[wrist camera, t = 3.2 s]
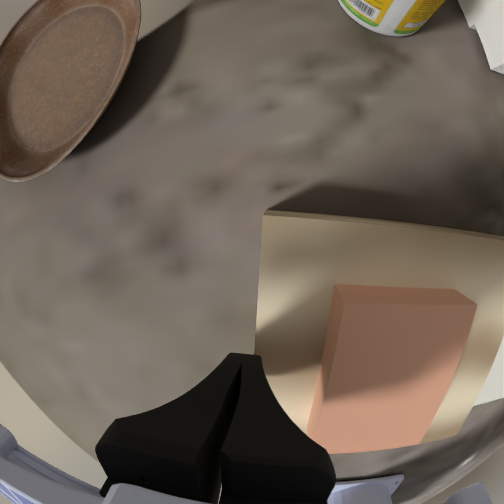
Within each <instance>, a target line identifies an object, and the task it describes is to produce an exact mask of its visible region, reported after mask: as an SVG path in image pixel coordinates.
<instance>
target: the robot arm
mask: <svg viewBox="0 0 504 504" xmlns="http://www.w3.org/2000/svg"><path fill="white" fill-rule="evenodd" d="M95 452H96V455H97V458H98V460H99V462H100V464H101V465H102V467H103V469H104V471H105V473H106V475H107V477H108V478H107V480H106V481H105V483H104V485H103V487H102V488H101V489H99V488H97V487H94V486H92V485H90V484H88V483H86V482H83V481H81V480H79V479H77V478H75V477H73V476H71V475H69V474H67V473H65V472H63V471H61V470H59V469H57V468H55V467H54V466H52V465H50V464H48V463H47V462H45V461H43V460H41V459H40V458H38V457H37V456H35V455H33V454H32V453H30V452H28V451H27V450H25V449H24V448H22V447H21V446H19V445H18V443H17V441H16V439H15V438H14V436H13V435H12V434H11V432H10V431H9V430H7V428H5V427H4V426H2V425H1V424H0V493H1V494H2V495H3V496H5V497H6V498H7V499H8V500H9V501H11V502H12V503H13V504H218V500H219V494H220V488H221V483H222V492H221V496H220V501H219V504H392V500H391V495H392V494H393V493H394V491H395V490H396V489H397V487H398V486H399V485H400V483H401V482H402V481H403V479H404V475H403V474H399V475H394V476H388V477H381V478H374V479H366V480H356V481H345V482H336V474H335V470H334V467H333V464H332V461H331V459H330V456H329V454H328V452H327V450H326V449H325V448H323V447H322V446H321V445H319V444H318V443H316V442H315V441H313V440H312V439H311V438H310V437H308V436H307V435H306V434H305V433H304V432H303V431H302V430H301V429H300V428H299V427H298V426H297V425H296V424H295V423H294V422H293V421H292V420H291V419H290V417H289V416H288V415H287V413H286V412H285V411H284V409H283V408H282V407H281V405H280V404H279V402H278V400H277V399H276V397H275V395H274V393H273V391H272V389H271V387H270V385H269V383H268V380H267V378H266V375H265V372H264V369H263V365H262V357H261V356H260V355H250V354H240V353H229V354H228V355H227V356H226V358H225V359H224V360H223V361H222V362H221V363H220V364H219V365H218V366H217V367H216V369H214V370H213V371H212V372H211V373H210V374H209V375H208V376H207V377H206V378H205V379H204V380H202V381H201V382H200V383H199V384H198V385H196V386H195V387H194V388H192V389H191V390H190V391H188V392H187V393H185V394H183V395H182V396H180V397H179V398H177V399H175V400H173V401H171V402H169V403H167V404H165V405H163V406H160V407H158V408H155V409H153V410H150V411H147V412H144V413H140V414H137V415H132V416H128V417H124V418H118V419H115V420H114V422H113V423H112V424H111V425H110V426H109V427H108V429H107V430H106V431H105V433H104V434H103V436H102V437H101V439H100V440H99V442H98V443H97V445H96V448H95ZM443 504H493V502H492V500H491V498H490V496H489V494H488V492H487V490H486V488H485V486H484V484H483V482H482V481H480V482H477V483H475V484H473V485H470V486H468V487H465V488H462V489H460V490H458V491H456V492H455V493H453V494H452V495H451V496H450V497H449V498H448V499H447V501H446V502H445V503H443Z"/></svg>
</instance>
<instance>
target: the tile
mask: <svg viewBox="0 0 504 504" xmlns="http://www.w3.org/2000/svg"><path fill="white" fill-rule="evenodd" d="M477 305H478V304H476V303H475V302H473V301H472V300H470V299H469V298H467V297H466V296H464V295H463V294H461V293H460V292H458V291H457V290H455V289H436V288H408V287H385V286H364V285H345V284H334V289H333V296H332V303H331V309H330V316H329V322H328V328H327V334H326V339H325V345H324V350H323V356H322V361H321V366H320V371H319V376H318V381H317V385H316V390H315V394H314V399H313V403H312V407H311V412H310V416H309V420H308V424H307V436H308V437H310V438H311V439H312V440H313V441H315V442H316V443H318V444H319V445H321V446H322V447H323V448H325V449H326V450H327V452H328V454H334V453H352V452H365V451H375V450H384V449H391V448H398V447H405V446H411V445H416V444H420V442H421V440H422V438H423V437H424V435H425V433H426V431H427V430H428V428H429V426H430V424H431V422H432V420H433V418H434V416H435V414H436V413H437V411H438V409H439V407H440V404H441V402H442V400H443V398H444V396H445V394H446V392H447V389H448V387H449V385H450V383H451V380H452V378H453V376H454V373H455V371H456V368H457V366H458V363H459V361H460V358H461V355H462V353H463V350H464V347H465V344H466V341H467V338H468V335H469V332H470V329H471V326H472V323H473V319H474V316H475V312H476V309H477Z"/></svg>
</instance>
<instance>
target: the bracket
mask: <svg viewBox="0 0 504 504" xmlns="http://www.w3.org/2000/svg"><path fill="white" fill-rule="evenodd" d="M458 2H459V5H460V7H461V9H462V11H463V13H464V16H465V18H466V20H467V23H468V25H469V27H470V28H473V29H476V30H477V32H478V34H479V37H480V40H481V42H482V45H483V48H484V51H485V54H486V57H487V60H488V63H489V66H490V69H491V70H493V71H496V72H499V73H502V74H504V0H458Z"/></svg>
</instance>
